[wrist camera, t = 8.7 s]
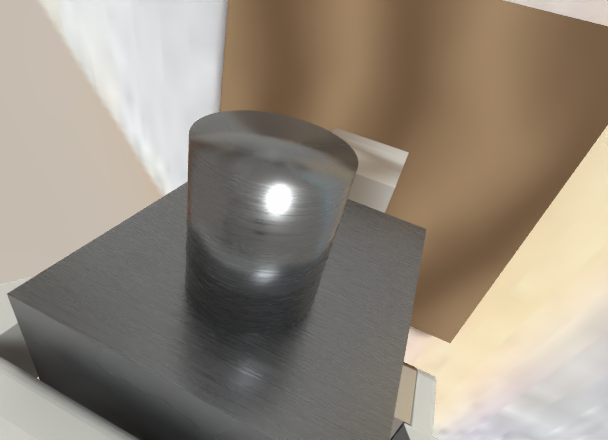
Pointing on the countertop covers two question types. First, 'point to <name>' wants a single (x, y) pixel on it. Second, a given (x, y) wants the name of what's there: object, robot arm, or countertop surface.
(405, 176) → the brown square plate
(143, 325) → the grey block with cylinder
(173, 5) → the countertop surface
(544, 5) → the countertop surface
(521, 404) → the countertop surface
